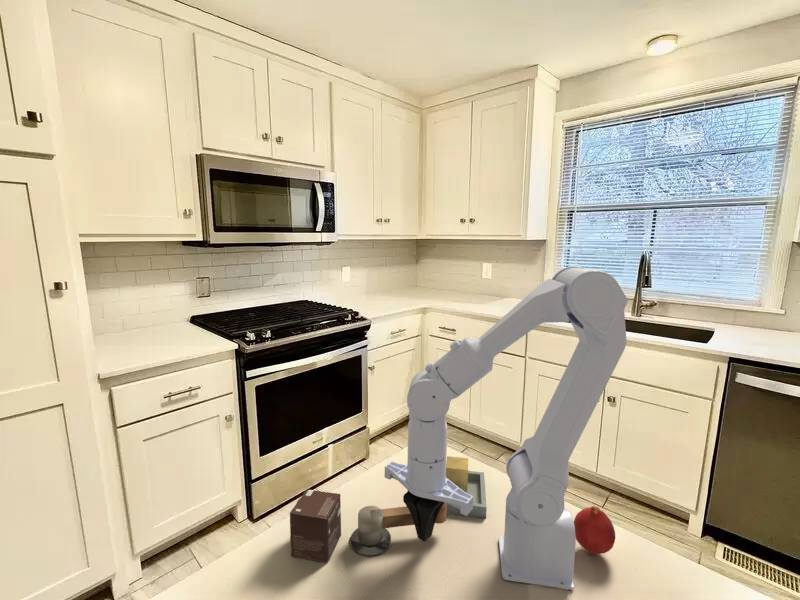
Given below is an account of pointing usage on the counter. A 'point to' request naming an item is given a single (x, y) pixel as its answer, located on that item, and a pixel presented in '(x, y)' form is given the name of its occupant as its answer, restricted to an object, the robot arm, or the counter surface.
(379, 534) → the crank
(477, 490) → the tray
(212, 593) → the counter surface
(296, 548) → the box
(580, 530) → the onion
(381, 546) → the crank base
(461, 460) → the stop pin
